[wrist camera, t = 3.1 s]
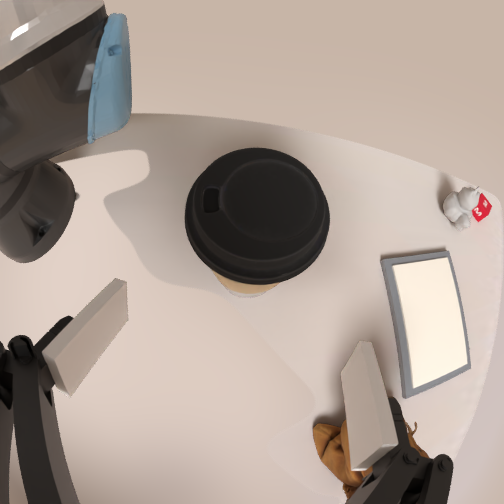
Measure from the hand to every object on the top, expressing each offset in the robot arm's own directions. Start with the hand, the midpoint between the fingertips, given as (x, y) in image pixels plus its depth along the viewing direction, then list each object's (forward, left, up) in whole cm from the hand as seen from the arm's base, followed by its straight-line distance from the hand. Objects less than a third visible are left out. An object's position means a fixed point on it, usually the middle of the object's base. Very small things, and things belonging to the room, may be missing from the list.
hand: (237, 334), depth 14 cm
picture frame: (+1, +24, -14) cm, 28 cm away
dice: (-14, +42, -14) cm, 46 cm away
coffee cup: (-8, +2, -14) cm, 16 cm away
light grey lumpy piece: (-13, +34, -14) cm, 39 cm away
